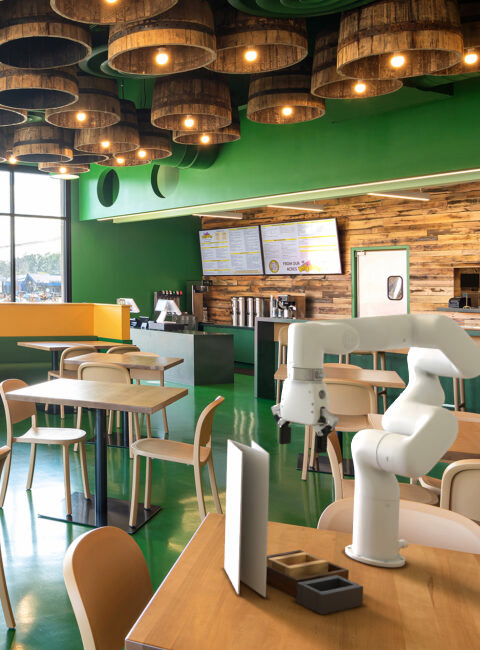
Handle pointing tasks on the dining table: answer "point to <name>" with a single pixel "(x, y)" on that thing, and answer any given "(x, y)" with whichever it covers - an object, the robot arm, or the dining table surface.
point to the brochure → (247, 515)
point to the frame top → (299, 564)
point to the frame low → (329, 594)
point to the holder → (290, 583)
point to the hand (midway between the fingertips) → (302, 448)
